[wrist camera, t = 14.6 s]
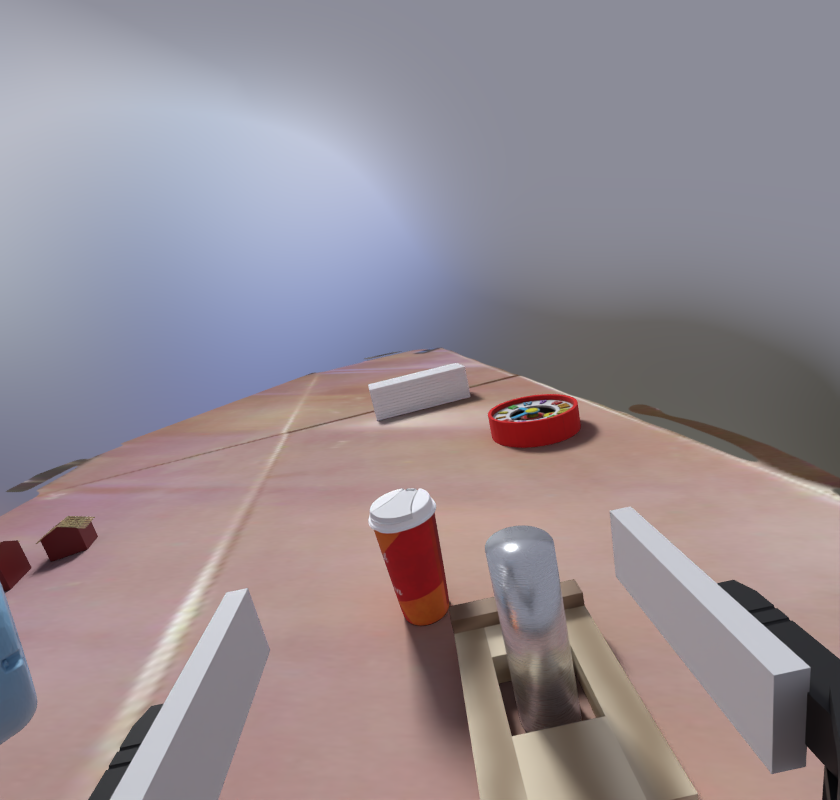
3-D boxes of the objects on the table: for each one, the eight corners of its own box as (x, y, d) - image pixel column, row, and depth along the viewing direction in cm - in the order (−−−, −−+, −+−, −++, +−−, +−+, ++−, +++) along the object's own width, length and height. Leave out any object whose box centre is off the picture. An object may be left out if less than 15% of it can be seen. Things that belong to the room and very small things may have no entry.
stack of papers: (377, 421, 136) (369, 390, 133) (375, 413, 146) (368, 384, 144) (470, 397, 139) (464, 366, 137) (462, 391, 150) (456, 362, 147)
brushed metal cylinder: (528, 750, 32) (492, 573, 28) (511, 691, 37) (479, 533, 33) (592, 736, 32) (564, 557, 28) (567, 679, 37) (540, 520, 33)
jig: (495, 873, 26) (481, 821, 25) (457, 642, 43) (448, 606, 42) (700, 829, 26) (696, 775, 25) (579, 615, 43) (574, 579, 42)
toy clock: (597, 400, 90) (523, 429, 83) (601, 425, 92) (528, 456, 84) (537, 390, 108) (471, 413, 101) (540, 411, 110) (476, 436, 103)
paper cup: (411, 582, 54) (385, 485, 51) (466, 588, 51) (443, 485, 48) (382, 629, 48) (351, 520, 44) (444, 639, 44) (416, 523, 41)
